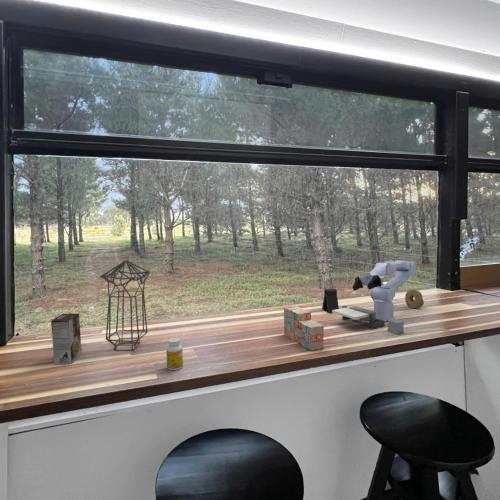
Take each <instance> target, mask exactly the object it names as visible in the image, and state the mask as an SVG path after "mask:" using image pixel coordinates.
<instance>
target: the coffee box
mask: <svg viewBox="0 0 500 500" xmlns="http://www.w3.org/2000/svg"><path fill="white" fill-rule="evenodd" d="M50 322H51V325H50V327H51V337H52V339H51V341H52V351H53V352H52V353H53V355H52V356H53V365H54V366H55V365H56V366H57V365H72V364H73V363H74V362H75V361H76V360H77V359H78V358H79V357H80V356H81V355H83V352H82V351H83V350H82V340H81V337H82V336H81V324H80V313H61V314H60V315H58V316H57V317H55V318H54V319H52V320H51V321H50Z"/></svg>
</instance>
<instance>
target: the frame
mask: <svg viewBox="0 0 500 500" xmlns="http://www.w3.org/2000/svg"><path fill="white" fill-rule="evenodd" d="M341 308H348V307H347V305H342V307H341ZM352 310H353V309H352ZM359 312H360V311H359ZM363 313H364V312H363ZM366 314H367V313H366ZM341 316H342V315H341ZM341 320H342V321H348V320H353V319H352V318H348V317H345V316H342V318H341ZM358 320H361V321H363V322H367V323H368V324H369V325H368V328H369V329H370V330H374V329H375V330H376V329H378V328H382V327H385V323H386V321H384V320H380V319H377V318H376V319H375V320H374V314H373V313H371V314H369V321H366V320H363V319H360V318H359V319H358Z"/></svg>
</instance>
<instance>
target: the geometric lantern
mask: <svg viewBox="0 0 500 500" xmlns="http://www.w3.org/2000/svg"><path fill="white" fill-rule="evenodd" d="M126 264H127V268H128V271H125V267H126ZM139 269H140V270H143V271H140V270H139ZM118 274H120V277H117V275H118ZM126 274H128V275H130V276H128V275H126ZM150 274H151V271H149V270H147V269H145V268H144V267H141V266H139V265H137V264H136V263H133V262H132V261H129V260H123V261H121V262H120V263H119V264H117V265H115V266H114V267H113V268H111V269H109V270H108V271H106V272H104V273H103V274H101V275H99V278H101V279H104V280H105V281H106V282H107V294H108V295H107V296H108V304H107V319H106V330H105V331H106V332H105V340H106V342H109V344H111V345H113V349H112V350H113V351H114V352H115V351H117V352H118V351H120V352H121V351H122V352H123V351H134V350H136V349H137V347H138V346H139V345H140V343H141V339H142V338H143V337H144V336H146V335H147V334H148V324H147V323H148V321H147V312H146V301H145V286H146V285H145V284H146V281H147V279H148V278H149V277H150ZM136 275H137V276H136ZM123 276H124V277H123ZM109 278H110V279H109ZM143 279H144V280H143ZM115 280H119V282H120V284H119V283H118V284H116V283H115ZM122 280H127V281H125V282H124V283H122ZM132 281H136V282H137V284H138V287H137V290H131V293H133V292H134V293H135V294H134V295H131V294H130V292H129V290H127V286H128V284H129V283H131V282H132ZM139 281H140V283H139ZM110 284H112V285H113V289H112V290H111V291H110ZM141 285H142V287H141ZM119 287H123V288H122V290H120V289H119ZM115 288H117V290H115ZM139 289H140V290H139ZM114 290H115V291H114ZM110 292H111V293H110ZM121 292H122V296H120V293H121ZM125 292H126V293H127V295H128V296H127V295H126V296H125ZM138 292H141V293H139V294H137V293H138ZM116 293H117V295H113V294H116ZM140 295H141V306H142V307H141V312H142V315H141V316H142V329H139V316H138V315H139V314H138V302H137V297H138V296H140ZM112 298H117V305H116V306H117V308H116V309H117V310H116V326H115V331H114V332H113V333H111V317H112V316H111V315H112V313H111V312H112V310H111V307H112ZM120 298H122V303H121V304H122V306H121V307H122V314H121V315H122V319H121V321H122V323H121V329H119V330H118V325H119V309H120V308H119V307H120ZM125 298H130V299H129V300H130V302H129V303H130V304H129V305H130V329H124V325H125V324H124V323H125V321H124V320H125V317H124V315H125V308H124V307H125ZM132 298H134V306H135V318H136V329H133V305H132V304H133V303H132V302H133V301H132V300H133V299H132ZM118 332H121V337H120V335H119V333H118ZM123 332H130V335H131V336H130V337H123ZM134 332H137V337H133V336H134V335H133V333H134ZM143 332H144V333H143ZM113 335H117V337H118V339H111V337H113ZM126 339H127V340H126ZM130 339H131V340H130ZM114 342H115V343H114ZM117 343H118V344H117ZM136 344H137V345H136ZM118 346H120V347H121V346H123V347H124V346H125V347H126V346H127V347H129V346H130V347H131V349H130V348H129V349H117V348H118Z"/></svg>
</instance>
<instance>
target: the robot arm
mask: <svg viewBox="0 0 500 500" xmlns="http://www.w3.org/2000/svg"><path fill="white" fill-rule="evenodd" d="M416 270H417V263H416V262H415V261H410V260H409V261H408V260H398V259H397V260H396V259H395V261H394V260H393V259H388V261H383V262H376V263H375V265H374V266H373V269H372V270H371V271H365V275H363V276H361V277H356V276H355V278H354V282H353V285H352V290H353V291H358V290H360V289H364V286H366V287H367V289H368V290H369V292H370V294H369V295H370V298H371V300H372V301H373V311H375V312H376V318H377V319H380V320H384V321H385V322H388V320H392V319H396V318H395V314H394V313H395V305H394V303H393V300H394V298H395V296H396V291H398V289H400V288H401V287H402V286H403V285H404V284H405V283H406V282H407V281H408V280H409V278H410V277H412V276H414V275H415V273H416ZM392 273H393V276H394V277H393V278H391V279H390V280H389V281H387V282H386V283H385V284H382V283H384V282H385V281H386V278H385V276H391V275H392Z"/></svg>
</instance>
